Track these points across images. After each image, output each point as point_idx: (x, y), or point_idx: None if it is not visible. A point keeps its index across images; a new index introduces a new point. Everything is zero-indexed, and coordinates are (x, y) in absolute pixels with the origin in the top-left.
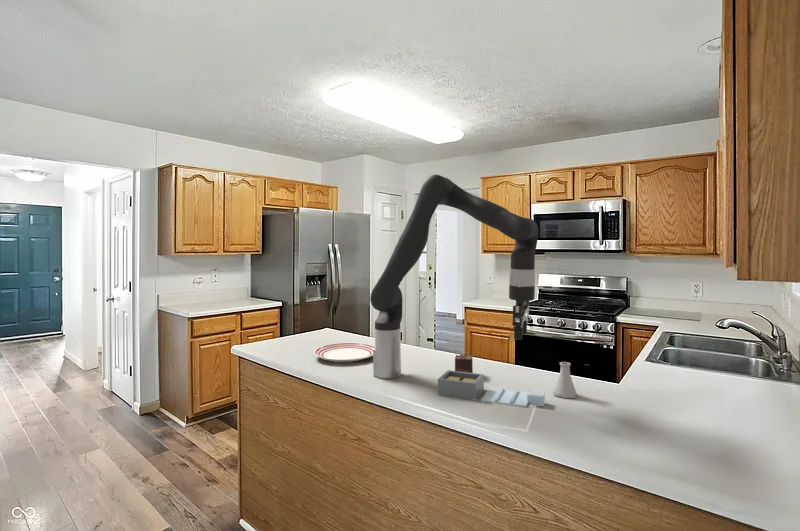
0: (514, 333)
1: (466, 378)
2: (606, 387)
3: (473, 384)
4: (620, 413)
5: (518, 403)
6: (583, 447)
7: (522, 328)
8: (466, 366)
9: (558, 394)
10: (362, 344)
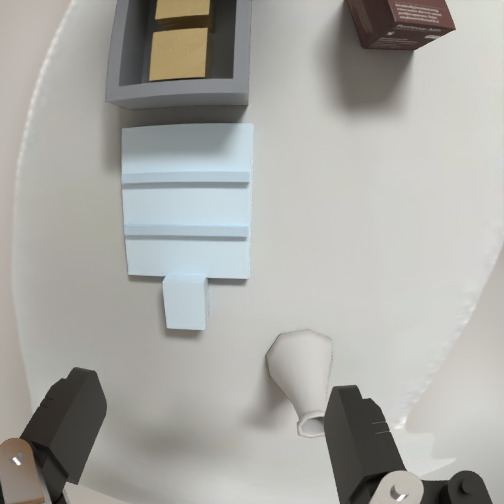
0: (55, 398)
1: (201, 35)
2: None
3: (107, 93)
4: (213, 439)
5: (134, 251)
6: (34, 368)
7: (339, 440)
8: (374, 12)
9: (275, 348)
10: None
